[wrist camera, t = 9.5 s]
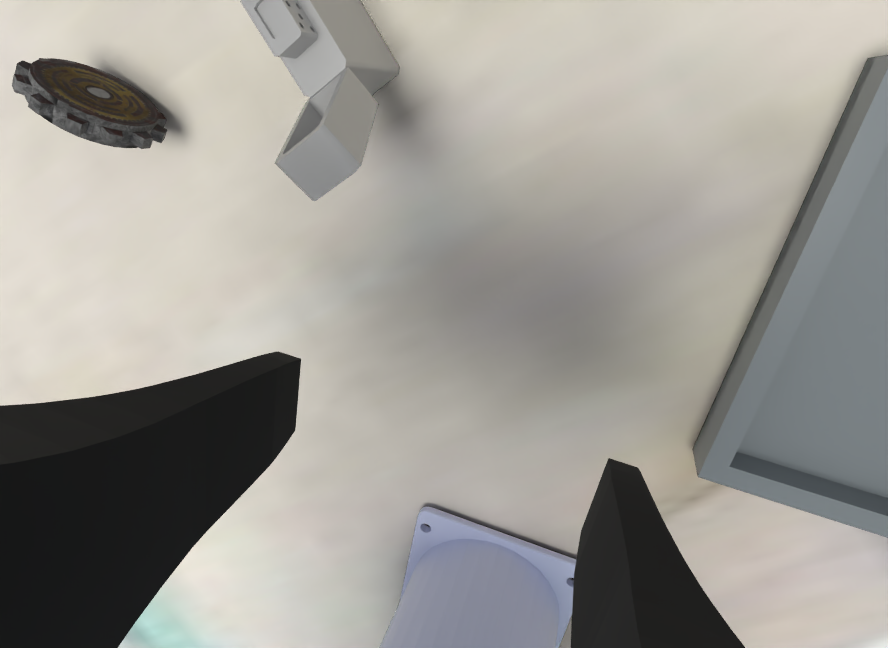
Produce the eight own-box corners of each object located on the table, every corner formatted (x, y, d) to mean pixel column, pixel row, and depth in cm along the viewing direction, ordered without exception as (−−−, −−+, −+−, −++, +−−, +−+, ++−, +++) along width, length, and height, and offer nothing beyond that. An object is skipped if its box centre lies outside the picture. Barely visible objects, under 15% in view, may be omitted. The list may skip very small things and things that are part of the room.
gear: (95, 77, 24) (-27, 72, 19) (100, 56, 23) (-23, 47, 19) (189, 148, 24) (88, 160, 19) (196, 129, 23) (95, 136, 19)
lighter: (302, -5, 20) (125, -60, 13) (337, -39, 19) (170, -116, 12) (408, 170, 21) (300, 208, 14) (445, 145, 21) (350, 171, 14)
